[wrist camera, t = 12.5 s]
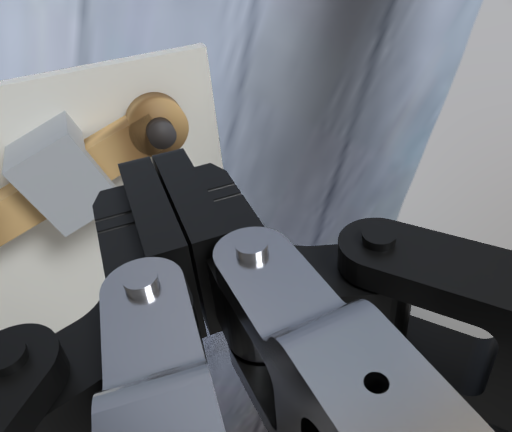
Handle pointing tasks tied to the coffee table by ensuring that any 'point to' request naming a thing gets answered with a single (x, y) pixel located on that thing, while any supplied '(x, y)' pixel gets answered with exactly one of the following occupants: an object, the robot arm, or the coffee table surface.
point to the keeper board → (94, 105)
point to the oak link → (109, 153)
